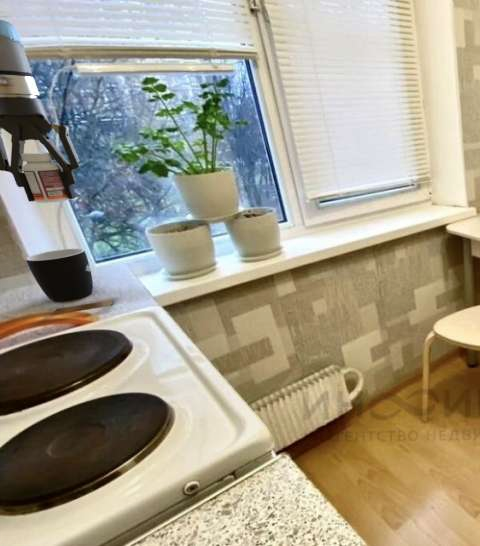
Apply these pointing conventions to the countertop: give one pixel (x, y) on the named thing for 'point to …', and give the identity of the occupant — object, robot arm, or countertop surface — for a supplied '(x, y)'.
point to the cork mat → (83, 307)
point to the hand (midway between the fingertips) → (53, 199)
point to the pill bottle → (44, 177)
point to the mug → (62, 274)
